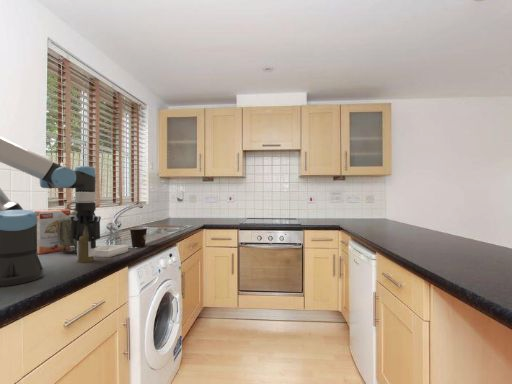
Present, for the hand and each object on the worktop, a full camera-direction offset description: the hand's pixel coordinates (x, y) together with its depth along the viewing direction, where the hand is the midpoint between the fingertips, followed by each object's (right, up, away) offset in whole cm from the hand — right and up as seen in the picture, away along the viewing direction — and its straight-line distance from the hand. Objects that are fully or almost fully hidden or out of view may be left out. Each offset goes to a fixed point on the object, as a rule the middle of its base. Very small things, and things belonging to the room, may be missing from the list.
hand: (85, 255), depth 120 cm
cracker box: (-29, -3, +20) cm, 36 cm away
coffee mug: (+9, -2, +30) cm, 31 cm away
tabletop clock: (-16, -3, +18) cm, 25 cm away
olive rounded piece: (0, -2, 0) cm, 2 cm away
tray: (+2, -2, +14) cm, 14 cm away
